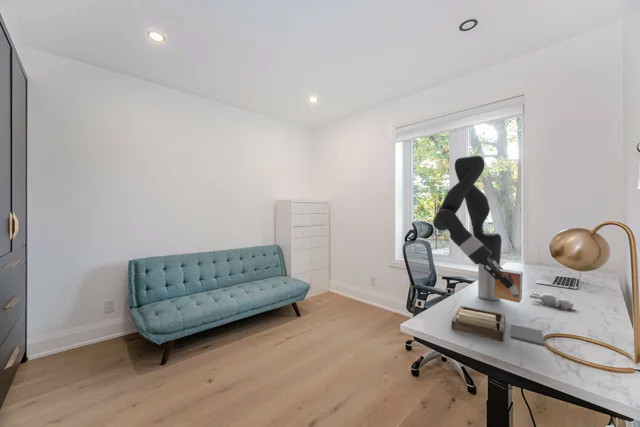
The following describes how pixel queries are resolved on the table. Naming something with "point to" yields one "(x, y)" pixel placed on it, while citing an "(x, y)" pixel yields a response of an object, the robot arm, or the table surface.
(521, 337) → the charcoal mat
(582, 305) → the table surface
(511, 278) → the small box
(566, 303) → the bunny figurine
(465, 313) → the offcut stack
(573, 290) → the table surface
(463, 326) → the walnut rack
